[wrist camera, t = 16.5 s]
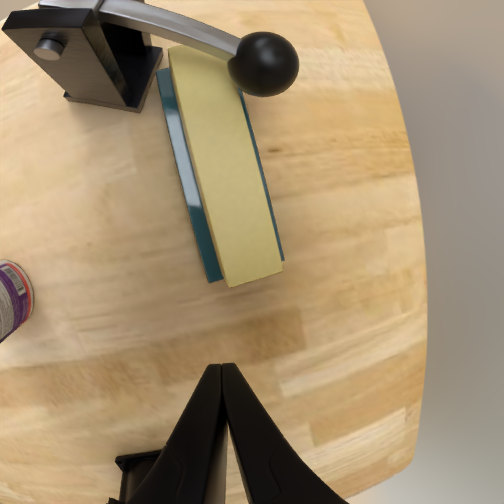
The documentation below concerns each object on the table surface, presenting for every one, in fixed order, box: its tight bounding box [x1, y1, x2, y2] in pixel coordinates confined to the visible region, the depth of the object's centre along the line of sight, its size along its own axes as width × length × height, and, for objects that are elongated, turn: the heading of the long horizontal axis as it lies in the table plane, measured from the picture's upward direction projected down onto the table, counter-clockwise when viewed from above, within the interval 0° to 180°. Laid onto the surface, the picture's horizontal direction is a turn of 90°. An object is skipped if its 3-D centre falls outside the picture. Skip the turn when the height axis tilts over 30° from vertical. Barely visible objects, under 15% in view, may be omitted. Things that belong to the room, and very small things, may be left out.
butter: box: [168, 45, 284, 288], centre depth 17 cm, size 14×3×3 cm, turn 14°
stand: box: [1, 0, 163, 113], centre depth 12 cm, size 6×6×12 cm
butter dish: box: [156, 68, 284, 283], centre depth 20 cm, size 5×14×2 cm, turn 14°
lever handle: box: [38, 0, 299, 97], centre depth 11 cm, size 13×4×4 cm, turn 74°
